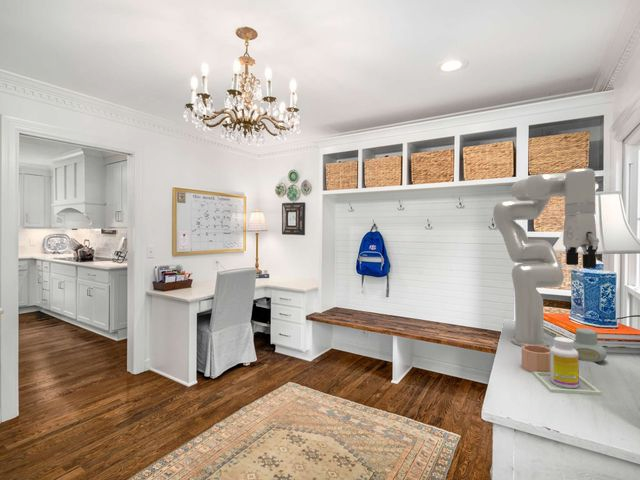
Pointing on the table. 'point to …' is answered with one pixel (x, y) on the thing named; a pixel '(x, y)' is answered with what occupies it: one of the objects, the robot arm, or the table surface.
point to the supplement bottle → (564, 363)
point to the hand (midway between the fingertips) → (580, 266)
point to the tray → (589, 392)
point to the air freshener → (588, 346)
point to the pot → (536, 358)
